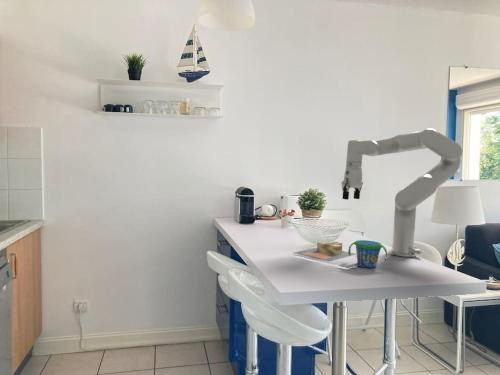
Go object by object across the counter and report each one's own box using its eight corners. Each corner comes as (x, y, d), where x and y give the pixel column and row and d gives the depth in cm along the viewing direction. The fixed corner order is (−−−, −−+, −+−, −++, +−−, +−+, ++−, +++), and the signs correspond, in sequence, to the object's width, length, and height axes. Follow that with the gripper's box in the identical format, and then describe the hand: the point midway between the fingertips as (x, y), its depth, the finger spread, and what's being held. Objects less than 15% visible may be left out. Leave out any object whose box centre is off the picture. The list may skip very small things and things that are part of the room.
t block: (348, 252, 191) (348, 244, 191) (336, 255, 184) (337, 246, 184) (328, 248, 199) (329, 240, 199) (316, 250, 192) (317, 242, 192)
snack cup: (388, 266, 170) (390, 242, 169) (383, 272, 161) (384, 247, 160) (351, 261, 178) (353, 238, 177) (344, 266, 168) (346, 241, 168)
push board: (357, 255, 188) (357, 254, 188) (329, 263, 172) (329, 261, 172) (321, 248, 203) (321, 246, 203) (292, 254, 186) (292, 252, 186)
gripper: (350, 164, 193) (347, 200, 194) (369, 166, 205) (366, 199, 206) (337, 164, 199) (334, 198, 200) (357, 165, 210) (354, 197, 212)
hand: (351, 199), depth 203 cm, fingers open, 9 cm apart
